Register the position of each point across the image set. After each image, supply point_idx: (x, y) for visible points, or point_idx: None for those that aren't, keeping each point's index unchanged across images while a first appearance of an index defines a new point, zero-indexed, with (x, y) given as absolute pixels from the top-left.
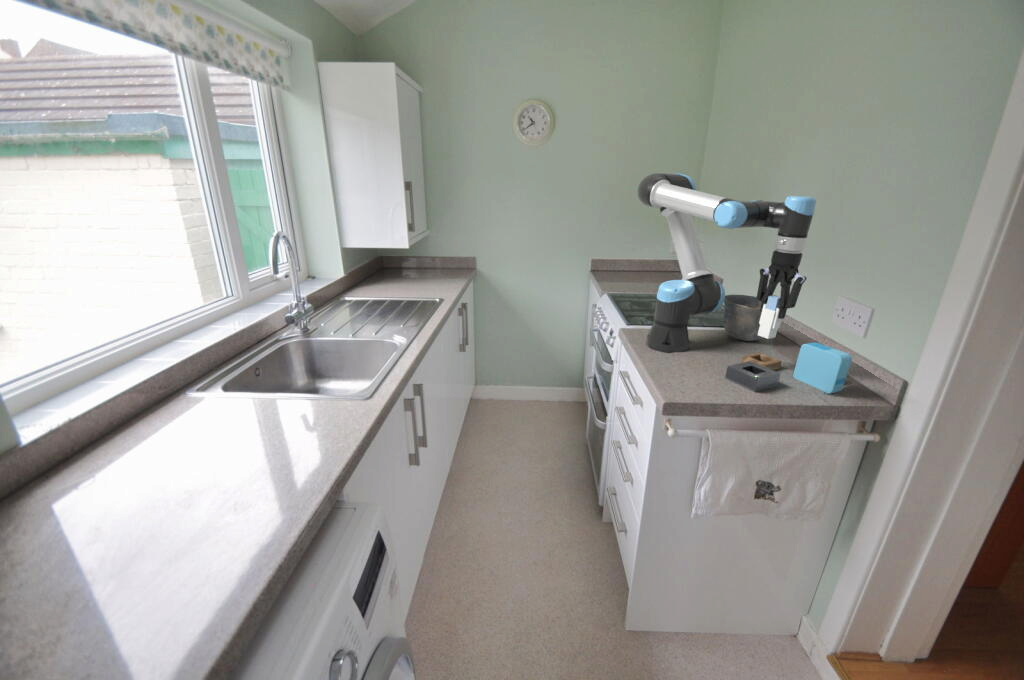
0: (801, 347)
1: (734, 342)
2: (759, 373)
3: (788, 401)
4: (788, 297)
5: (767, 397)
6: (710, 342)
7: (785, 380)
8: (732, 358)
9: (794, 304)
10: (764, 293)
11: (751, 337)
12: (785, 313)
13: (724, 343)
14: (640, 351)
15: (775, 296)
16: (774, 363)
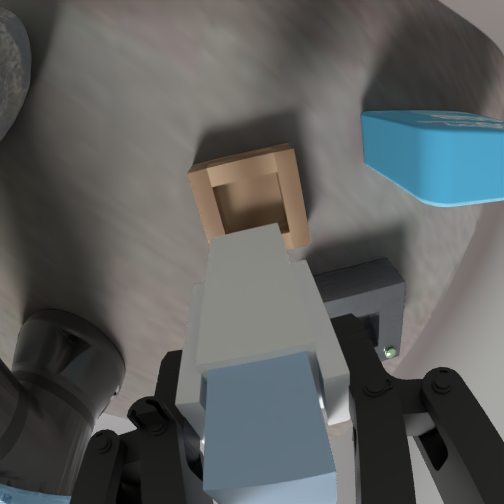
0: (422, 201)
1: (21, 135)
2: (379, 335)
3: (438, 283)
4: (408, 478)
5: (408, 314)
6: (26, 224)
7: (363, 195)
8: (161, 241)
9: (464, 400)
10: (113, 491)
11: (26, 89)
12: (372, 346)
13: (30, 179)
14: (121, 413)
15: (262, 501)
16: (301, 192)
